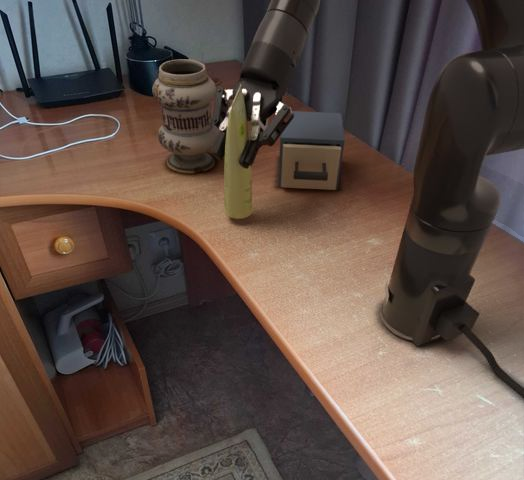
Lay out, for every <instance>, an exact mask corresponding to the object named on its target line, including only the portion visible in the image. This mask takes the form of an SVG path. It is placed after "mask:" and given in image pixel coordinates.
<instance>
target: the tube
mask: <svg viewBox="0 0 524 480" xmlns="http://www.w3.org/2000/svg"><path fill="white" fill-rule="evenodd" d="M231 105H232V108H231V110H230V113H229V117H228V123H227V133H226V145H225V156H224V164H223V165H224V167H223V172H224V173H223V174H224V175H223V196H224V198H223V201H224V202H223V204H224V206H223V207H224V213H225V214H226V216H227V217H229V218H232V219H237V220H238V219H245V218H249V216H250V215H251V214H252V213H253V179H252V177H253V176H252V165H251V166H249V168H248V169H246V168H243V167H242V166H241V165H240V164H239V159H240V157H241V155H242V152H243V150H244V147H245V145H246V143H247V140H250V135H249V125H248V121H247V116H246V108H245V102H244V97H243V93H242V88H241V85H240V87H239V90H238V92H237V94H236V96H235V99H234V100H232V102H231Z"/></svg>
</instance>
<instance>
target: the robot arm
mask: <svg viewBox="0 0 524 480" xmlns="http://www.w3.org/2000/svg"><path fill="white" fill-rule="evenodd" d="M465 1H466V3H467V5H468V7H469V9H470V11H471V14H472V16H473V19H474V21H475V26H476V29H477V33H478V37H479V43H480V48H481V50H474V51H468V52H463V53H461V54H458V55H456V56H454V57H452V58H451V59H450V60H449V61H447V63H446V64H445V65H444V66H443V67H442V69H441V70H440V72H439V74H438V75H437V78H436V79H435V81H434V84H433V86H432V90H431V92H430V95H429V98H428V102H427V106H426V110H425V114H424V119H423V123H422V129H421V134H420V138H419V144H418V148H417V154H416V158H415V163H414V168H413V194H412V198H411V202H410V206H409V208H408V209H409V210H408V212H407V217H406V221H405V224H404V228H403V232H402V234H401V238H400V240H399V241H400V242H399V245H398V249H397V252H396V256H395V260H394V262H393V263H394V264H393V268H392V271H391V275H390V278H389V282H388V280H386V282H385V285H384V293H385V297H384V300H383V303H382V305H381V308H380V319H381V322H382V323H383V325H384V327H386V329H387V330H388V331H389V332H391V333H392V334H394V335H395V336H397V337H399V338H402V339H404V340H407V341H409V342H412V343H413V344H414V345H415V346H417V347H420V346H423V345H426V344H427V343H430V342H433V341H436V340H439V339H440V338H442V339H443V340H444V341H447V340H450V339H453V338H456V337H458V336H460V335H462V334H463V335H464V336H465V337H466V338H467V339H468V340H469V341H470V342H471V343H472V345H474V347H476V348H477V350H478V351H479V352H480V353H481V355H483V357H484V358H485V360H486V362H487V364H488V366H489V367H490V369H491V370H492V371H493V373H494V374H495V375H496V376H497V377H499V379H501V381H503V382H504V383H505V384H506V385H507V386H508V387H509V388H511V390H513V391H514V392H516V393H517V394H518V395H520V396H521V397H522V398H524V386H522V385H521V384H519V383H518V382H517V381H516V380H514V379H513V378H512V377H511V376H510V375H508V373H507V372H505V371H504V369H503V368H501V367H500V365H499V363H498V362H497V360H496V358H495V356H494V354H493V353H492V351H491V350H490V349H489V348H488V347H487V345H486V344H485V343H484V342H483V341H482V340H481V339H480V338H479V337H478V336H477V334H475V333H474V332H473V331H472V330H473V328H474V326H475V324H476V322H477V320H478V318H479V316H480V312H478V311H477V310H476V309H475V308H474V307H473V306H471V304H469V302H467V300H468V298H469V295H470V293H471V291H472V288H473V286H474V285H475V282H476V279H475V277H474V276H472V275H471V273H472V271H473V268H474V266H475V263H476V261H477V259H478V256H479V254H480V252H481V250H482V247H483V245H484V243H485V240H486V238H487V236H488V234H489V231H490V229H491V227H492V224H493V222H494V219H495V217H496V215H497V213H498V210H499V208H500V204H501V199H502V198H501V193H500V191H499V189H498V188H497V187H496V185H494V184H493V183H492V182H491V181H489V180H488V179H487V178H485V177H483V176H482V175H481V171H482V169H483V168H482V167H483V165H484V161H485V158H486V156H487V157H488V156H492V155H498V154H503V153H510V152H515V151H520V150H524V0H465ZM320 5H321V0H270V3H269V4H268V7H267V9H266V13H265V15H264V17H263V18H262V20H261V22H260V24H259V26H258V27H257V30H256V32H255V35H254V37H253V40H252V42H251V45H250V47H249V50H248V52H247V55H246V57H245V58H244V62H243V64H242V67H241V69H240V75H239V80H238V82H236V84H235V85H234V86H233V87H232V89H231V88H230V89H225V88H224V87H223V86H221V85H220V86H218V87H216V95H215V97H214V104H213V109H212V115H211V118H212V123H213V124H214V125H215V126H216V127H217V129H218V132H219V134H218V136H217V139H216V142H215V144H214V146H213V148H212V152H213V153H212V155H213V156H214V157H215V158H216V159H217V160H219V161H223V160H224V159H225V145H226V133H227V123H228V117H229V113H230V110H231V108H232V102H233V101H234V99H235V96H236V94H237V92H238V90H239V87H240V85H241V88H242V93H243V97H244V102H245V108H246V116H247V122H250V126H251V129H250V135H249V140H247V143H246V145H245V147H244V150H243V152H242V155H241V157H240V159H239V164H240V165H241V166H242V167H243V168H246V169H248V168H249V166H251V167H252V165H253V164H254V163H255V160H256V157H257V155H258V152H259V149H260V148H261V147H263V146H268V147H273V146H274V145H275V144H276V142H277V141H278V140H279V139H280V135H281V134H282V133H283V131H284V130H285V129H286V127H287V126H288V125H289V123H290V122H291V121H292V119H293V118H294V113H293V112H292V111H293V109H292V108H291V106H289V104H288V103H283V97H284V96H285V95H286V92H287V90H288V87H289V86H290V83H291V80H292V78H293V76H294V73H295V71H296V69H297V66H298V64H299V62H300V61H301V57H302V54H303V52H304V49H305V44H306V41H307V38H308V35H309V33H310V31H311V28H312V26H313V24H314V21H315V19H316V17H317V14H318V12H319V9H320ZM274 114H275V115H274ZM273 115H274V117H273V118H272V120H271V121H270V123H269V118H271V117H272V116H273Z"/></svg>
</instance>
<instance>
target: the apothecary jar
mask: <svg viewBox="0 0 524 480" xmlns="http://www.w3.org/2000/svg"><path fill="white" fill-rule="evenodd" d="M158 72H159V73H158V77H157V78H156V80H155V81H154V83H153V84H152V90H151V91H152V95H153V98H154V99H155V100H156V102H158V104H160V109H161V116H162V117H161V118H162V124H161V125H160V127H159V128H158V131H157V137H158V142H159V144H160V145H161V147H163V148H164V149H165V150H166V151H168V152H170V153H172V154H171V155H170V156H169V157H168V158H167V160H166V165H167V167H168V168H169V169H171V170H172V171H174V172H176V173H180V174H187V175H188V174H189V175H190V174H196V173H199V172H206V171H208V170H210V169H212V168H214V166H215V163H216V162H215V158H214V157H213V156H212V155H211V154H210V153H208V152H209V151H211V150H213V146H214V144H215V142H216V139H217V136H218V134H219V129H218V128H217V127H216V126H215V125H214V124H213V123H212V107H211V105H212V104H211V103H212V102H213V100H215V96H216V90H217V87H216V84H215V82H214V81H213V79H212V78H211V77H210V76H209V75H208V73H207V68H206V65H205V64H204V63H202V62H200V61H199V60H198V61H197V60H196V59H195V60H194V59H186V58H183V59H181V58H180V59H172V60H167V61H165V62H163V63H162V64H160V65H159V68H158Z"/></svg>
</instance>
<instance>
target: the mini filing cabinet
mask: <svg viewBox="0 0 524 480" xmlns="http://www.w3.org/2000/svg"><path fill="white" fill-rule="evenodd" d="M292 112H293V113H294V118H293V119H292V121H291V122H290V123H289V125H288V126H287V127H286V129H285V130H284V131H283V133H282V134H281V135H280V137H279V154H278V155H279V157H278V177H277V178H278V180H277V181H278V182H277V187H278V188H282V187H281V177H282V157H283V144H287V142H295V143H317V144H336V146H339V147H341V154H340V161H339V168H338V175H337V182H336V189H335V190H334V191H338V189H339V182H340V176H341V169H342V162H343V157H344V148H345V139H346V138H345V130H344V122H343V115H342V113H341V112H323V111H322V112H321V111H303V110H301V111H300V110H298V111H297V110H292Z"/></svg>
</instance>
